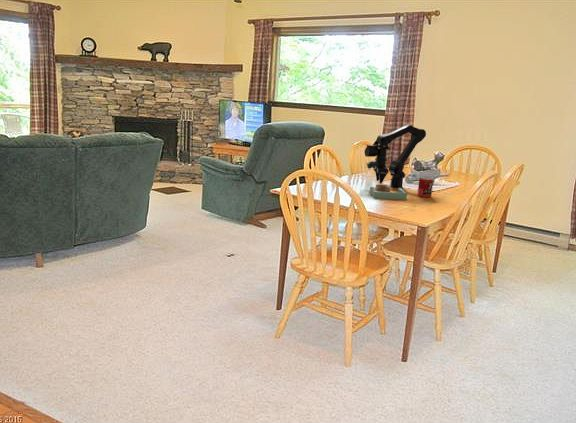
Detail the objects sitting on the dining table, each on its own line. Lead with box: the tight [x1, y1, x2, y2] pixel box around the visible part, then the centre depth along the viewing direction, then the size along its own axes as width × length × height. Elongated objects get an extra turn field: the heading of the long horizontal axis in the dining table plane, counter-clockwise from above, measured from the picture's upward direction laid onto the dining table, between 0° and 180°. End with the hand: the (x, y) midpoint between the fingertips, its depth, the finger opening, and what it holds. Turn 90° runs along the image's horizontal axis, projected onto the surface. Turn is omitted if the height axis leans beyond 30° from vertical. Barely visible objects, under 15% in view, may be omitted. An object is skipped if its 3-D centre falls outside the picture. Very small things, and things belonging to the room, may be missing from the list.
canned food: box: [417, 175, 434, 199], centre depth 300 cm, size 8×8×11 cm
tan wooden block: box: [374, 184, 391, 192], centre depth 309 cm, size 7×7×4 cm
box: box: [369, 186, 408, 201], centre depth 296 cm, size 18×14×4 cm
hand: (379, 182), depth 321 cm, fingers open, 9 cm apart
